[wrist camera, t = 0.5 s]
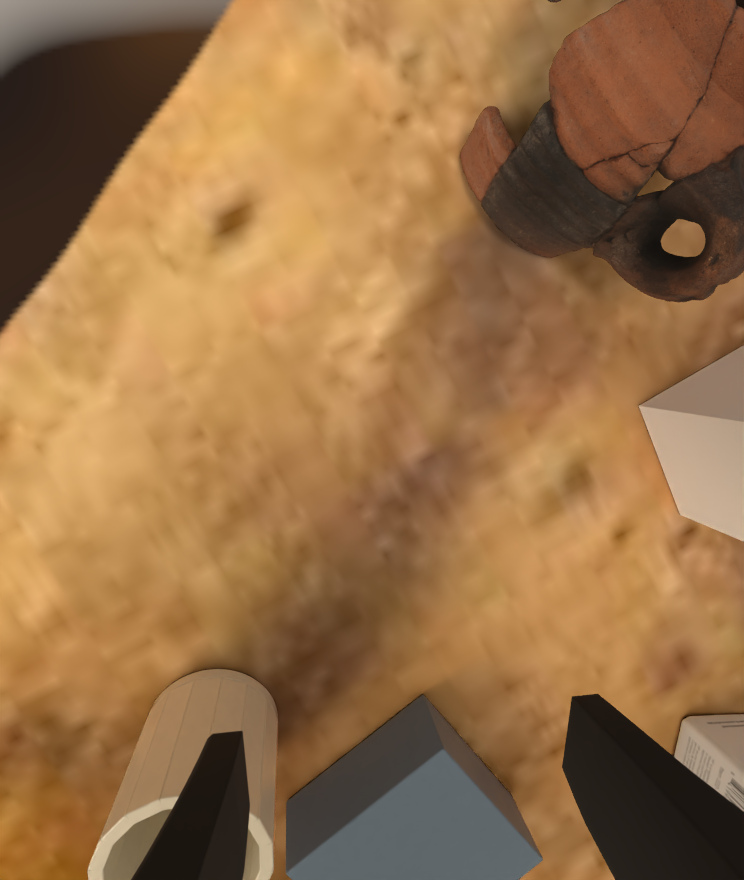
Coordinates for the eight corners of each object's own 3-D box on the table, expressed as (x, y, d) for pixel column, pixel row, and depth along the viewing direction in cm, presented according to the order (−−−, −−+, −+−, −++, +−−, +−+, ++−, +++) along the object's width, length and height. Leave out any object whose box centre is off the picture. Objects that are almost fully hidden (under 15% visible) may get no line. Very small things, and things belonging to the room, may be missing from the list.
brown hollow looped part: (401, 90, 18) (584, -231, 11) (547, 90, 23) (740, -131, 16) (550, 376, 18) (838, 239, 10) (666, 314, 22) (917, 191, 15)
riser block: (386, 894, 24) (400, 975, 21) (285, 800, 22) (284, 874, 19) (511, 795, 24) (544, 860, 21) (422, 692, 22) (444, 748, 19)
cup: (182, 800, 21) (141, 970, 15) (122, 703, 20) (52, 849, 14) (297, 745, 22) (300, 890, 16) (246, 647, 20) (228, 765, 14)
